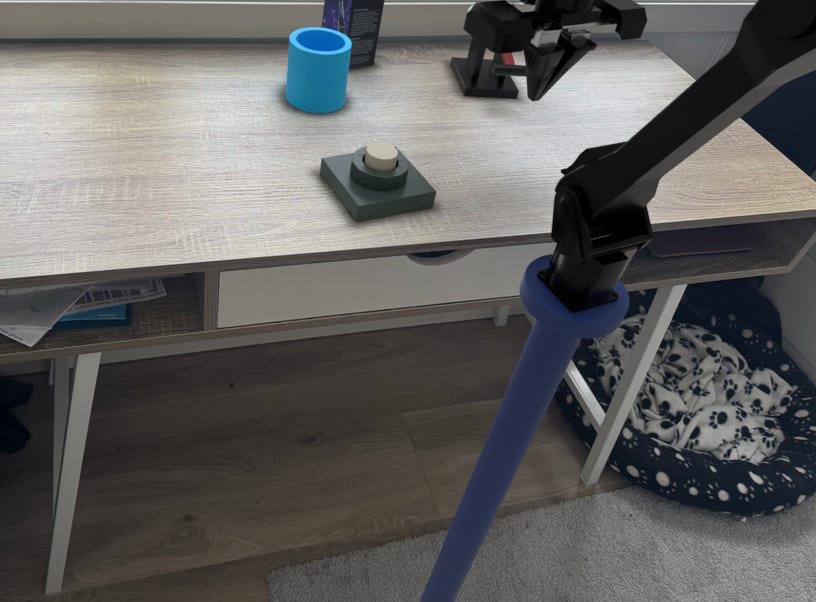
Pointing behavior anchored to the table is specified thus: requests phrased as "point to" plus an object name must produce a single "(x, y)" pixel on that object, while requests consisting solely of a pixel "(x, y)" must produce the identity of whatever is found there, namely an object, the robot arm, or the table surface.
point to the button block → (376, 186)
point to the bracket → (482, 74)
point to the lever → (508, 67)
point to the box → (356, 26)
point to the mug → (317, 69)
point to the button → (381, 156)
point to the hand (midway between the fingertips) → (533, 99)
